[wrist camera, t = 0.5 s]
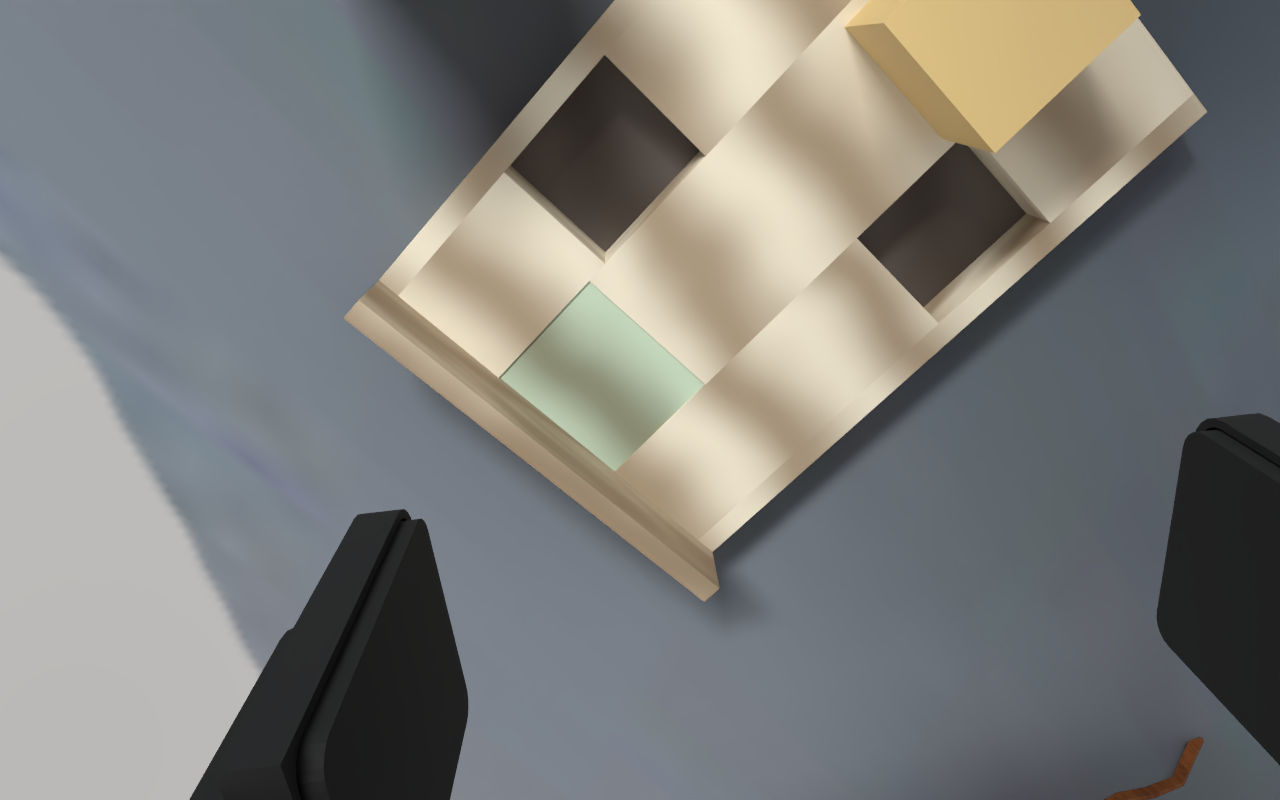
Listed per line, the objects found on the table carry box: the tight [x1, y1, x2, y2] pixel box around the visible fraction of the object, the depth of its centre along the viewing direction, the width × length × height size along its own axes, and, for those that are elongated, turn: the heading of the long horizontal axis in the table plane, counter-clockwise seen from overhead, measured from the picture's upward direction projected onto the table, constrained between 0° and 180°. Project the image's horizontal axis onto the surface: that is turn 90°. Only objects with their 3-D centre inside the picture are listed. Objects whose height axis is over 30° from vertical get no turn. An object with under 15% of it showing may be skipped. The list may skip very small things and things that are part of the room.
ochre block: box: [845, 0, 1141, 153], centre depth 29 cm, size 6×6×5 cm
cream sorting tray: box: [344, 0, 1207, 602], centre depth 34 cm, size 29×20×6 cm
